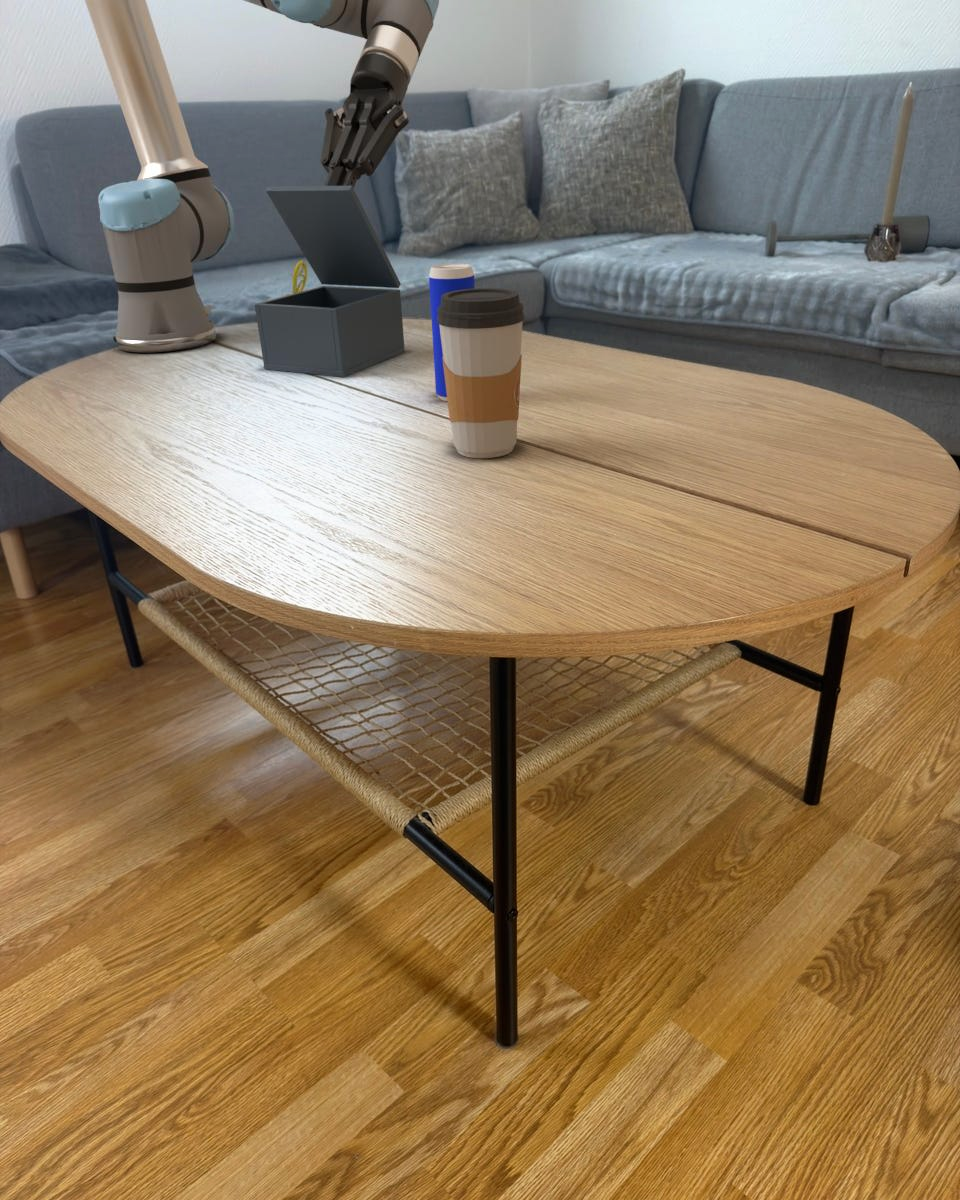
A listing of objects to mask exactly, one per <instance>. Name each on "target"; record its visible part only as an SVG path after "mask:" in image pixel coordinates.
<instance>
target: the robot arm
mask: <svg viewBox="0 0 960 1200" xmlns="http://www.w3.org/2000/svg"><path fill="white" fill-rule="evenodd" d="M243 1H244V2H247V3H250V4H253V5H256V6H258V7H261V8H264V9H267V10H269V11H271V12H274V13H277V14H278V15H279V14H280V15H281V16H285V17H286V18H287V19H289V20H292V21H295V22H298V23H300V24H301V23H302V24H310V25H312V26H315V27H317V28H320V29H327V30H332V31H334V32H339V33H342V34H345V35H350V36H353V37H358V38H361V39H364V40H366V41H365V43H364V46H363V48H362V50H361V53H360V56H359V59H358V60H357V63H356V65H355V67H354V70H353V72H352V75H351V78H350V84H349V85H350V86H349V87H350V88H349V95H348V96H347V97H346V99H344V101H343V102H342V107H340V108H338V109H336V110H335V111H334V110H333V109H332V108H330V107H329V108H326V110H325V111H324V116H325V120H326V123H325V124H326V125H325V130H324V131H325V132H324V137H323V143H322V149H321V154H320V160H319V163H320V164H321V165H322V167H323V169H324V170H325V171H326V173H327V176H326V179H325V181H324V184H323V186H352V187H353V189H354V188H355V186H356V183H357V181H358V180H360V179H361V178H362V176H363V175H366V176H367V177H370V176H372V175H373V174H374V173H375V171H376V170H377V168H378V166H379V165H380V163H381V162H382V160H383V159H384V157H385V156H386V154H387V152H388V151H389V149H390V147H391V146H392V144H393V143H394V141H395V140H396V138H397V136H398V135H399V133H400V132H401V131H402V130H403V129H404V128H405V127H406V126H408V124H409V123H410V119H409V118H408V116H407V114H406V111H405V109H403V106H402V104H403V101H404V99H405V97H406V94H407V91H408V87H409V85H410V83H411V81H412V78H413V76H414V73H415V70H416V68H417V66H418V62H419V60H420V57H421V54H422V52H423V50H424V47H425V44H426V42H427V40H428V38H429V35H430V34H431V33H430V32H431V31H432V29H433V27H434V21H435V18H436V15H437V11H438V8H439V4H440V0H243ZM84 3H85V5H86V7H87V11H88V13H89V16H90V19H91V22H92V25H93V28H94V32H95V34H96V37H97V41H98V43H99V46H100V48H101V52H102V55H103V59H104V61H105V64H106V67H107V69H108V72H109V76H110V78H111V81H112V84H113V87H114V90H115V93H116V96H117V99H118V103H119V105H120V107H121V111H122V114H123V116H124V119H125V123H126V126H127V128H128V131H129V134H130V137H131V140H132V143H133V146H134V150H135V152H136V155H137V158H138V161H139V164H140V172H139V175H138V177H137V179H135V180H130V181H128V182H119V183H116V184H112V185H110V186H107V187H104V188H103V189H102V190H101V191H100V193H99V194H98V197H97V198H98V199H97V201H98V207H99V219H100V223H101V225H102V228H103V234H104V238H105V242H106V245H107V250H108V253H109V259H110V264H111V268H112V271H113V276H114V280H115V284H116V289H117V294H118V303H117V304H118V305H117V327H116V330H115V335H114V336H112V340H113V341H114V342H116V344H117V348H118V349H119V350H120V351H121V350H122V351H124V352H131V353H162V352H163V353H164V352H173V351H181V350H187V349H192V348H196V347H201V346H205V345H207V344H209V343H212V342H214V341H215V340H216V339H217V333H216V326H215V324H214V322H213V320H212V319H211V318H210V317H209V314H211V313H212V308H211V304H208V305H204V302H203V301H202V299H201V297H200V294H199V293H198V290H197V288H196V281H195V277H194V270H193V265H192V264H194V263H197V262H203V261H209V260H211V259H212V258H214V257H216V256H217V255H219V254H220V253H222V252H223V251H225V250H226V248H227V247H228V246H229V244H230V243H231V241H232V238H233V236H234V233H235V232H234V231H235V214H234V210H233V207H232V205H231V202H230V201H229V199H228V197H227V196H226V195H225V194H224V192H223V191H221V190H220V189H219V188H217V186H215V185H214V182H213V179H212V175H211V173H210V169H209V167H208V165H207V164H206V163H204V162H202V161H201V160H199V159H198V158H197V157H196V155H195V152H194V150H193V147H192V146H193V145H192V143H191V140H190V136H189V134H188V133H189V132H188V131H187V128H186V125H185V124H186V123H185V121H184V118H183V115H182V110H181V108H180V105H179V101H178V98H177V95H176V93H175V90H174V85H173V83H172V79H171V75H170V74H169V70H168V67H167V64H166V60H165V57H164V53H163V51H162V47H161V44H160V41H159V39H158V35H157V31H156V28H155V26H154V25H155V24H154V22H153V19H152V15H151V12H150V9H149V6H148V3H147V0H84ZM354 190H355V189H354Z"/></svg>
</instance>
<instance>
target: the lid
mask: <svg viewBox="0 0 960 1200" xmlns="http://www.w3.org/2000/svg"><path fill="white" fill-rule="evenodd" d="M265 192H266V194H267V196H268V197H269V199H270V201H271V202H272V204H273V206H274V207H275V209H276V211H277V212H278V214H279V216H280V218H281V219H282V221H283V222H284V224H285V225H286V228H287V230H289V232H290V234H291V236H292V238H293V239H294V240H295V242H296V245H298V248H299V249H300V250H301V252H302V254H303V256H304V257H305V259H306V260H307V262H308V264H309V266H310V267H311V269H312V270H313V272H314V274H315V276H316V277H317V279H318V280H319V282H320V284H321V285H325V286H345V287H366V288H386V289H399V288H400V287H401V286H402V285H401V284H402V283H401V281H400V279H399V277H398V275H397V272H395V269H394V267H393V265H392V263H391V260H390V259H389V257H388V255H387V253H386V251H385V249H384V247H383V245H382V243H381V241H380V239H379V237H378V235H377V233H376V231H375V229H374V227H373V224H372V223H371V221H370V219H369V217H368V215H367V212H366V211H365V209H364V207H363V205H362V203H361V201H360V199H359V197H358V194H357V193H356V191H355V189H353V187H352V186H324V185H295V186H294V185H284V186H283V185H282V186H281V185H277V186H276V185H275V186H272V185H271V186H267V188H266V189H265Z"/></svg>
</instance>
